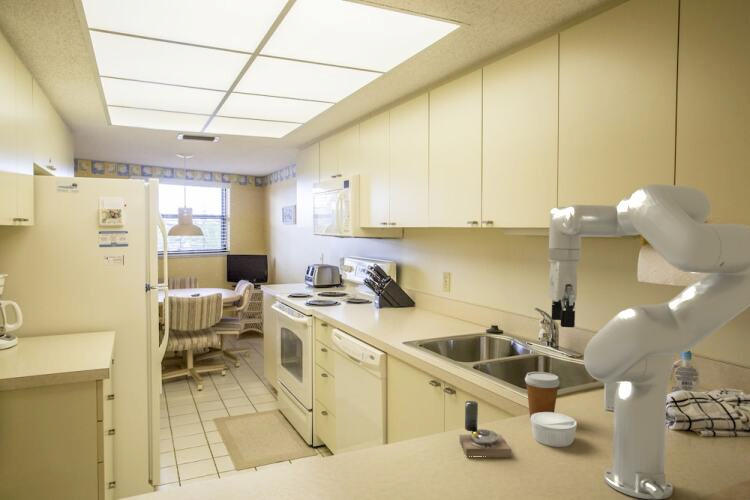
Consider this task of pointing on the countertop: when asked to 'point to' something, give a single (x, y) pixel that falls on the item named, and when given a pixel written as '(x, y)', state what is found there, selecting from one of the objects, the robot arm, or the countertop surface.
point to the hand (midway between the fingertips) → (562, 323)
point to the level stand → (485, 447)
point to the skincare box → (610, 395)
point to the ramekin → (553, 429)
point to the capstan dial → (471, 425)
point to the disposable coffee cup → (541, 391)
